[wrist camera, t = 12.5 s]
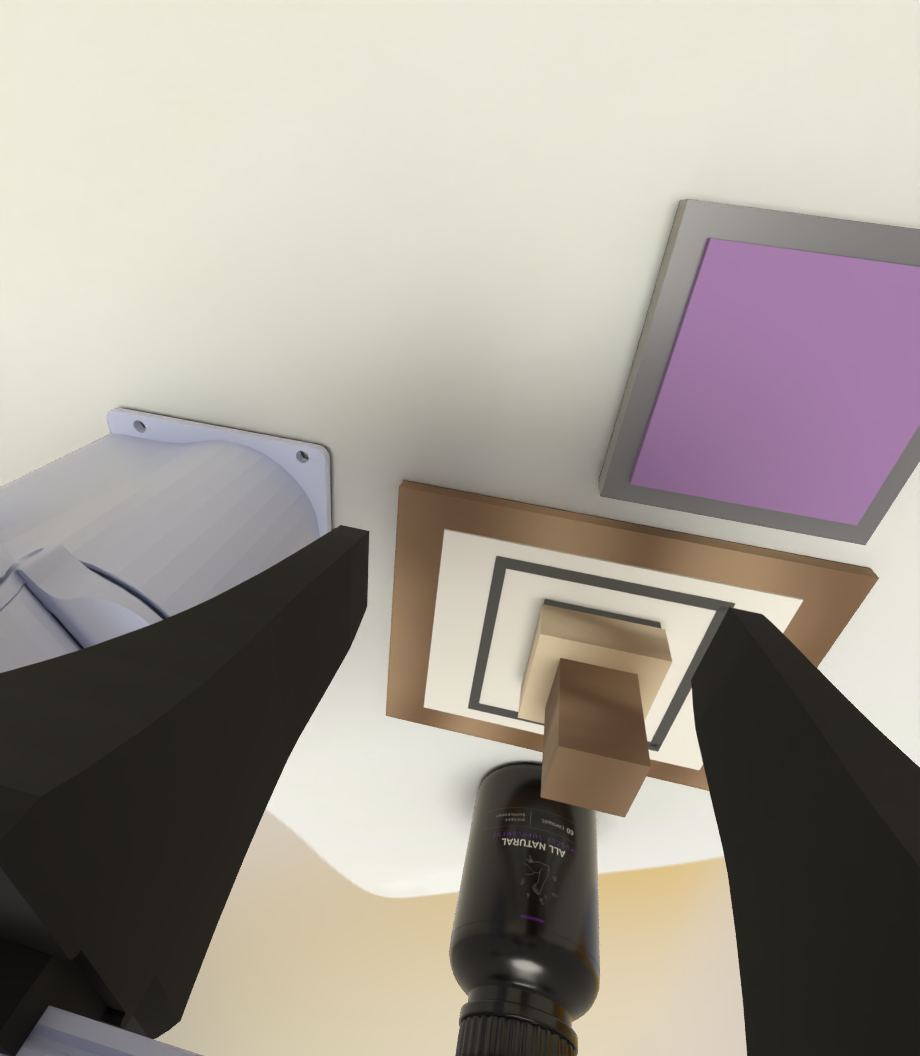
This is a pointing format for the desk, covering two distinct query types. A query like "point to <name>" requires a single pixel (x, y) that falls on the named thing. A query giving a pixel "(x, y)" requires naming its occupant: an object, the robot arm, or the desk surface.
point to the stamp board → (584, 580)
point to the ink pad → (775, 373)
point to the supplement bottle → (526, 920)
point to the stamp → (593, 702)
